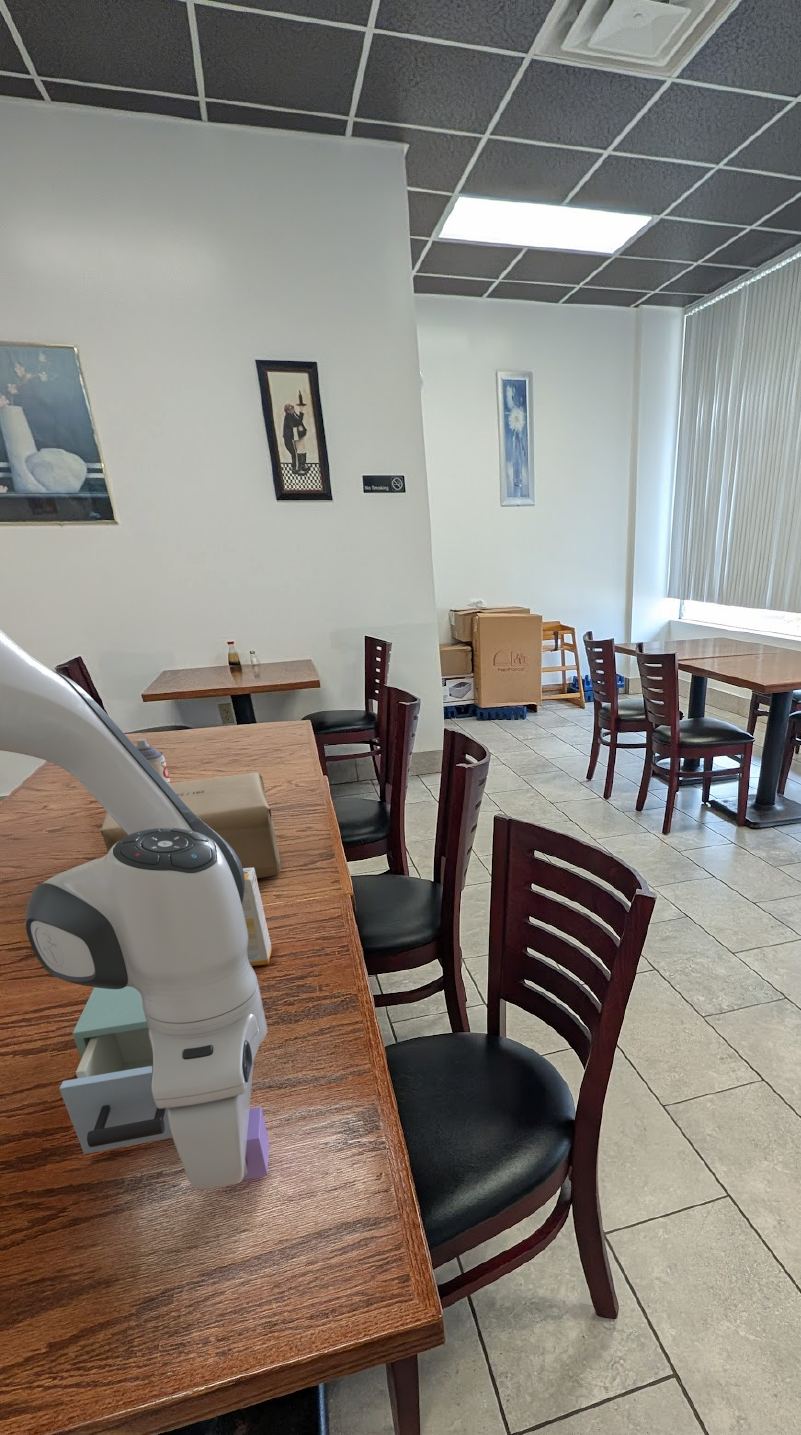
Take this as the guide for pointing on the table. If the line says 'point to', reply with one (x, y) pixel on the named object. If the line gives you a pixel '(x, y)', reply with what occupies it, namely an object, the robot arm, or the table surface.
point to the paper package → (226, 818)
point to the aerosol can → (154, 758)
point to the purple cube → (257, 1145)
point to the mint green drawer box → (109, 1015)
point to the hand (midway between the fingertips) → (240, 1150)
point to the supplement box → (255, 921)
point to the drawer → (115, 1094)
